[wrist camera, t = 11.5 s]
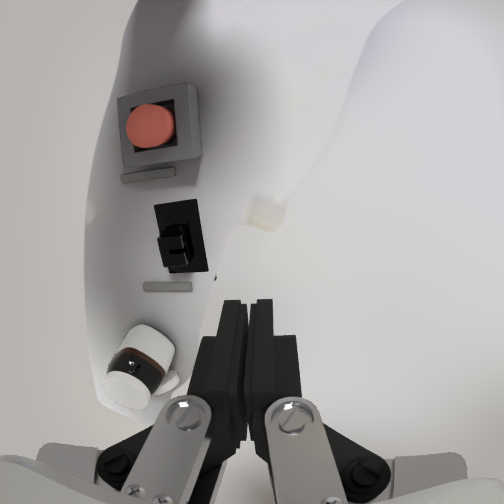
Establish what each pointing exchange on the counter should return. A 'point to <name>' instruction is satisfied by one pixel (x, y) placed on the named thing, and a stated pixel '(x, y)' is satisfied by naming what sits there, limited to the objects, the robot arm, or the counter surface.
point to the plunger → (151, 126)
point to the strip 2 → (167, 286)
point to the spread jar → (141, 368)
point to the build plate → (181, 237)
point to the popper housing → (187, 125)
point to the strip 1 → (148, 175)
